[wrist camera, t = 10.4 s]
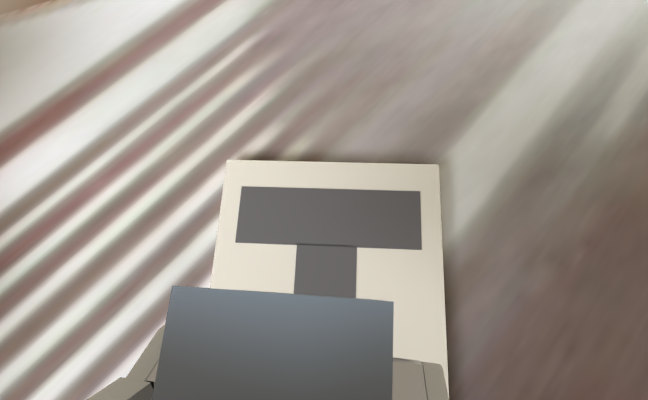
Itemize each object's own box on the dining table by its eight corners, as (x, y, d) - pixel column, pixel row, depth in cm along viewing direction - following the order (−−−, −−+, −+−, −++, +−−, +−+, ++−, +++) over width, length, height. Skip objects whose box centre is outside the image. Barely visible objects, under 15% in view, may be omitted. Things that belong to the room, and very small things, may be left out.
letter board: (446, 453, 23) (451, 461, 22) (197, 433, 24) (189, 440, 23) (434, 169, 28) (439, 164, 27) (231, 165, 29) (226, 159, 28)
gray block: (367, 421, 13) (389, 595, 5) (252, 409, 14) (123, 556, 6) (370, 299, 14) (393, 301, 7) (265, 291, 15) (172, 285, 7)
